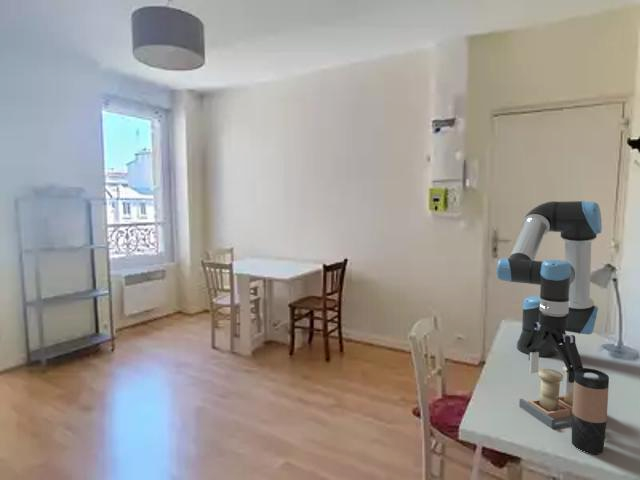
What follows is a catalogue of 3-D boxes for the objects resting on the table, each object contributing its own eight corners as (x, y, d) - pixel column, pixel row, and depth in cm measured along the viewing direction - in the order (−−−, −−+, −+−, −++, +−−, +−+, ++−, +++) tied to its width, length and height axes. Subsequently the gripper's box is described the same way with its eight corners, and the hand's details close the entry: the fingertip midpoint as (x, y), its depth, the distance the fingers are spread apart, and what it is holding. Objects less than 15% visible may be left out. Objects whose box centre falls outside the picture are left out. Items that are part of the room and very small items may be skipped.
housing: (519, 406, 132) (520, 366, 131) (568, 398, 137) (571, 360, 135) (551, 428, 120) (553, 384, 118) (604, 419, 124) (607, 376, 123)
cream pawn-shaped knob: (548, 404, 131) (551, 367, 129) (565, 415, 125) (568, 377, 123) (531, 407, 129) (533, 370, 128) (547, 418, 123) (550, 380, 121)
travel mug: (610, 456, 107) (615, 381, 104) (577, 453, 108) (582, 379, 106) (596, 439, 114) (600, 368, 112) (565, 436, 115) (569, 366, 113)
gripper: (513, 303, 135) (511, 366, 137) (578, 327, 111) (574, 403, 113) (533, 301, 137) (530, 363, 139) (601, 324, 113) (596, 399, 115)
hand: (550, 381), depth 126 cm, fingers open, 13 cm apart
